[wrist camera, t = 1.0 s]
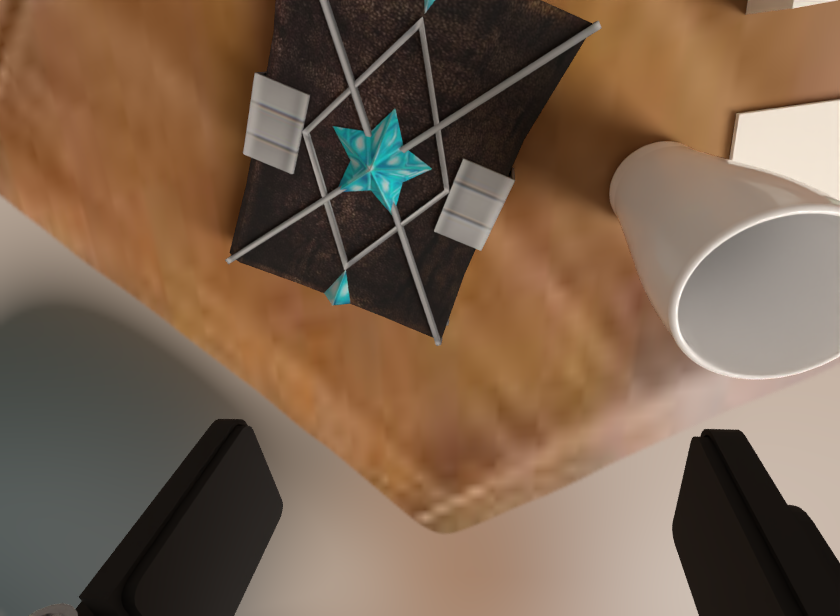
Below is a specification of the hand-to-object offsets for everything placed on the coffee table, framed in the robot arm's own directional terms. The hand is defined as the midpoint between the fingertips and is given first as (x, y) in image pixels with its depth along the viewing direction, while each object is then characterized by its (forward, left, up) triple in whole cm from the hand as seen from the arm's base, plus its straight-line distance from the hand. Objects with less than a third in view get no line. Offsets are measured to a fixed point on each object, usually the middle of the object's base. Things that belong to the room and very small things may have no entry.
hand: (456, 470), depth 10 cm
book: (-3, -6, -24) cm, 25 cm away
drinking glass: (+1, +10, -23) cm, 25 cm away
